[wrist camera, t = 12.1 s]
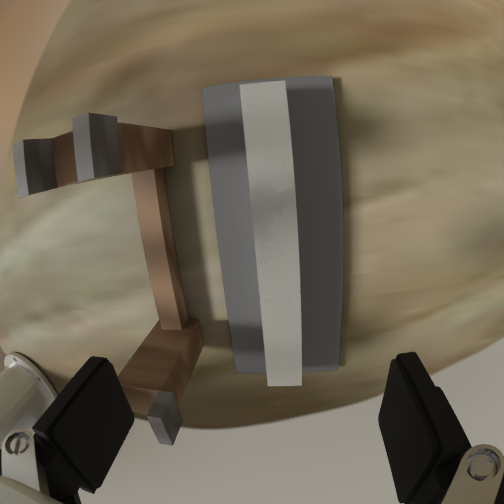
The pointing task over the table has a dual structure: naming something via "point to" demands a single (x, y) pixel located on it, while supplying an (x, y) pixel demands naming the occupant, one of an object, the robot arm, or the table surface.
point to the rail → (274, 227)
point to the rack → (154, 242)
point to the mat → (308, 219)
